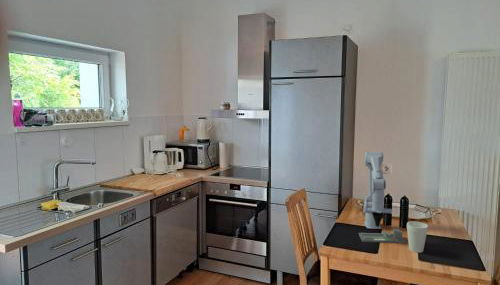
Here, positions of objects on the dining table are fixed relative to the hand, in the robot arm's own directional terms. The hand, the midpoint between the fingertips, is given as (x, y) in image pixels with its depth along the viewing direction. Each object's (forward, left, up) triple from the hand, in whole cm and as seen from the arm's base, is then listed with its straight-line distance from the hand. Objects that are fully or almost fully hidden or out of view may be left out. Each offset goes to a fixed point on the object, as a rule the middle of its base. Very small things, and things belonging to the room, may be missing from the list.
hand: (377, 225), depth 185 cm
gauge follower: (+1, +5, -6) cm, 7 cm away
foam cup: (+13, +15, -7) cm, 22 cm away
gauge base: (0, +2, -7) cm, 8 cm away
